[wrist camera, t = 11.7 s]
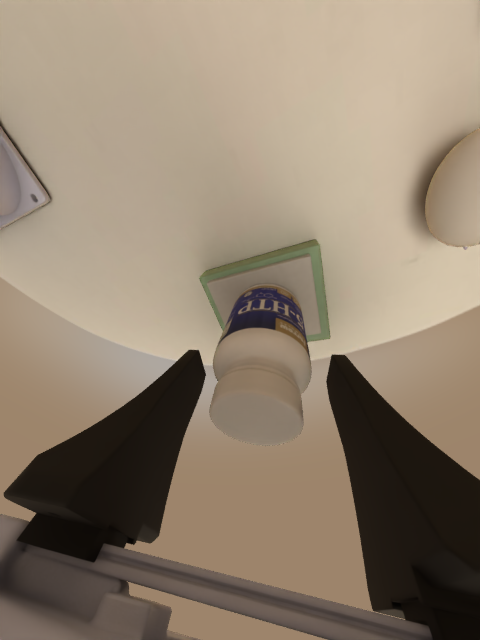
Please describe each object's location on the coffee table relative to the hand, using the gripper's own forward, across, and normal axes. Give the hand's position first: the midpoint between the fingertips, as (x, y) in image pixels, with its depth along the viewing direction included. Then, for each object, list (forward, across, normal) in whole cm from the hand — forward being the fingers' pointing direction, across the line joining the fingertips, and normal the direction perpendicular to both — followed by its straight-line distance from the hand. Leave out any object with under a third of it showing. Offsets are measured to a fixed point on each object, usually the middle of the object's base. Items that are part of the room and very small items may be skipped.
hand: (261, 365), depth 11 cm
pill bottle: (+6, 0, 0) cm, 6 cm away
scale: (+8, 0, 0) cm, 8 cm away
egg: (+8, -11, -7) cm, 15 cm away
